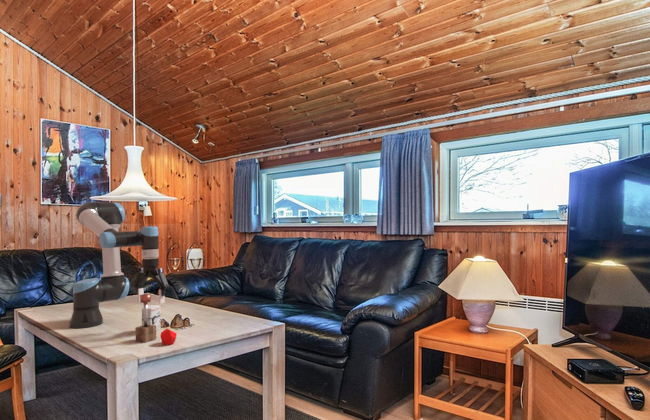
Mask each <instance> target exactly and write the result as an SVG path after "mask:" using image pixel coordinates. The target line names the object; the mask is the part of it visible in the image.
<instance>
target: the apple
mask: <svg viewBox="0 0 650 420" xmlns="http://www.w3.org/2000/svg"><path fill="white" fill-rule="evenodd" d="M177 335H178V333H177V332H175V331H173V330H171V329H169V328H165V329H164V330H162V332H160V339H161V343H162V345H164V346H169V345H174V344H175V342H176V339H177Z"/></svg>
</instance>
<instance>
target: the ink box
mask: <svg viewBox="0 0 650 420" xmlns="http://www.w3.org/2000/svg"><path fill="white" fill-rule="evenodd" d="M161 323H162V322H161V305H159V304H158V305H157V304H151V305H148V325H156V332H157V331H159V330H161ZM143 325H144V307H142V308H141V326H143Z"/></svg>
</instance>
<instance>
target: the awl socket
mask: <svg viewBox="0 0 650 420" xmlns="http://www.w3.org/2000/svg"><path fill="white" fill-rule="evenodd" d="M134 330H135V342H136V343H137V342H139V343H148V342H152V341H154V340H157V331H156V325H148V327H144V325H143V326H142V325H139V326H136V327H135V329H134Z"/></svg>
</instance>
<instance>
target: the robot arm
mask: <svg viewBox="0 0 650 420" xmlns="http://www.w3.org/2000/svg"><path fill="white" fill-rule="evenodd" d="M75 217H76V220H77V221H78V223H79V224H80V225H82V226H83V227H87V228H88V229H89V230H91V231H92V232H93V233H94V234H95V235H96V236H97V237H98V243H99V246H100V247H101V250H102V251H101V252H102V254H101V255H102V269H103V271H102V272H103V273H102V275H100V279H99V278H98V277H93V278H86V279H82V280H79V281H76V282H74V283H73V288H72V289H73V290H72V303H73V305H72V314H71V317H70V321H69V328H70V327H71V329H85V328H90V327H96V326H99V325H102V324H104V323H103V322H104V318H103V316H102V312H101V310H100V303H104V302H109V301H110V302H111V301H118V300H121V299H125V298H126V297H127V296H128V294H129V291H130V281H129V278H127V276H125V274H124V272H122V267H121V266H122V265H121V252H120V248H127V247H128V248H129V247H141V258H142V259H141V266H142V267H141V268H140V267H139V268H138V271H137V272H138V273H137V276H136V278H135V281H134V284H133V288H136V289H137V301H138V303H141V302H140V295H143V294H145V293H144V290H145V288H144V285H145V283H146V282H147V281H148V279H149V278H150V279H154V281H155V283H156V284H157V286H158V287H159V289H158V300H159V304H164V303H166V301H165V300H166V289H167V288H168V289H169V287H170V286H169V285H170V284H169V283H168V280H167V277H166V275H165V271H164V268H163V267H159V266H160V258H159V257H160V256H159V255H160V253H159V252H160V250H159V245H160V244H159V242H160V241H159V237H160V236H159V235H160V234H159V229H158V226H156V225H154V226H151V225H150V226H141V230H129V231H122V230H121V231H119V229H120V227H121V226H122V223H124V222H125V218H126V212H125V209H124V207H123V206H122V204H121V203H119V202H113V201H88V202H85V203H83V204H81V205H80V206H79V207H78V209H77V210H76V215H75ZM158 267H159V268H158ZM159 304H158V305H159Z"/></svg>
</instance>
